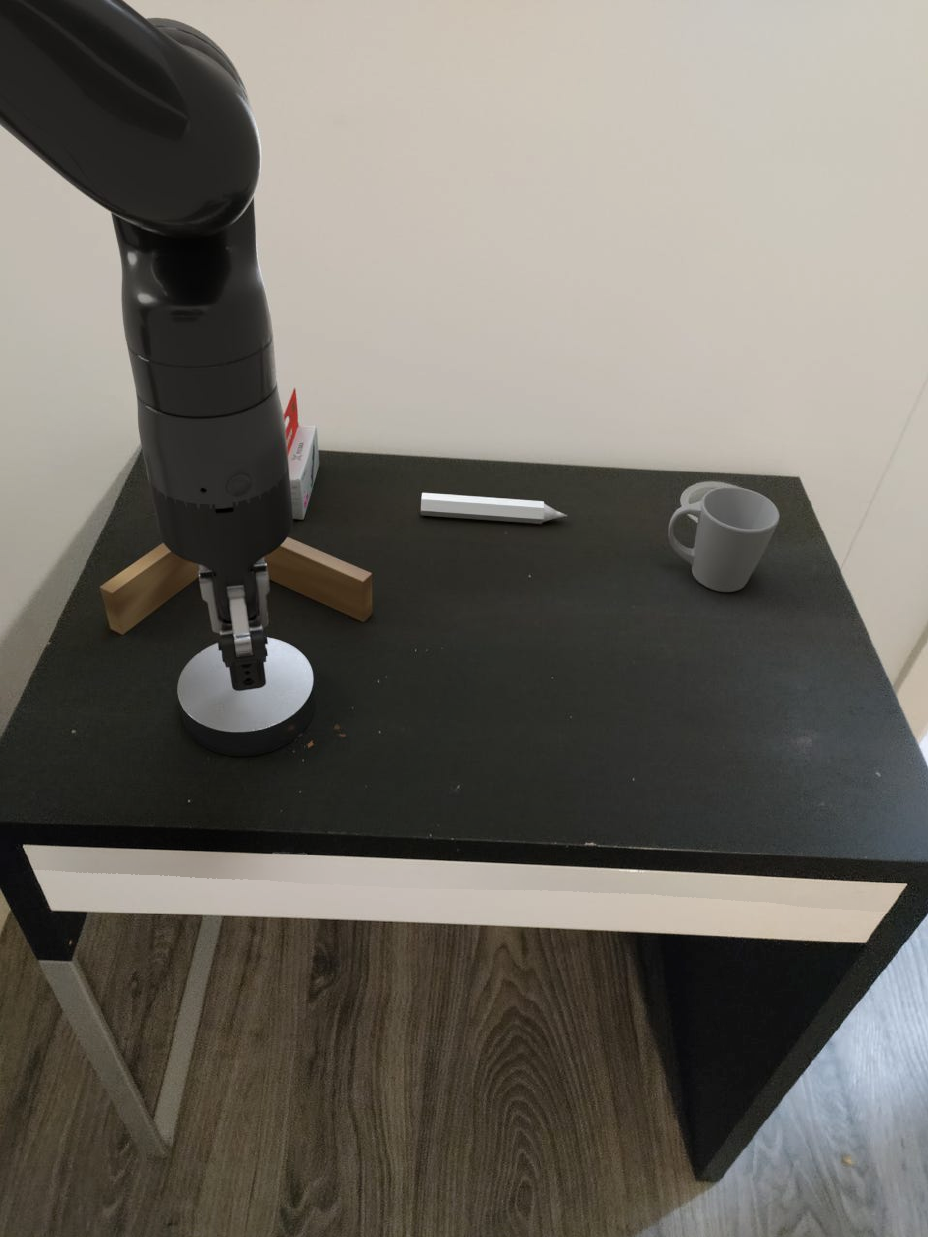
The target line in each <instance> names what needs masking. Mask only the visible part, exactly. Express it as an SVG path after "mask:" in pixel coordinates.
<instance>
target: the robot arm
mask: <svg viewBox="0 0 928 1237" xmlns="http://www.w3.org/2000/svg"><path fill="white" fill-rule="evenodd" d="M0 126H1V127H2V128H3V129H5V130H6V131H7V132H8V133H9V134H10V135H12V136H13V137H14V138H15V139H17V140H18V142H20V143H21V144H22V145H24V147H26V148H27V149H28V150H29V151H31V153H32V154H34V155H35V156H36V157H38V158H39V159H40V160H41V161H42V162H43V163H45V164H46V165H47V166H48V167H49V168H50V169H52V170H53V171H54V172H56V173H57V174H58V175H59V176H60V177H62V178H63V179H64V180H65V181H67V182H68V183H69V184H70V185H72V186H73V187H74V188H75V189H77V190H78V191H79V192H81V193H82V194H84V195H85V196H86V197H88V198H89V199H90V200H92V201H93V202H95V203H96V204H98V205H99V206H101V207H102V208H104V209H105V210H107V211H108V212H110V214H111V219H112V223H113V228H114V234H115V238H116V243H117V247H118V252H119V258H120V265H121V266H120V267H121V293H120V294H121V295H120V296H121V297H120V298H121V314H122V325H123V331H124V338H125V342H126V347H127V351H128V357H129V363H130V368H131V373H132V377H133V383H134V386H135V387H134V388H135V394H136V403H137V404H136V405H137V424H138V425H137V426H138V428H137V429H138V434H139V439H140V445H141V446H140V447H141V451H142V456H143V460H144V464H145V470H146V476H147V480H148V485H149V491H150V496H151V500H152V506H153V510H154V515H155V520H156V525H157V531H158V534H159V537H160V539H161V541H162V543H164V544H165V546H166V547H167V548H168V549H169V550H170V551H171V552H173V553H174V554H175V555H177V556H179V557H180V558H182V559H185V560H187V561H190V562H193V563H197V564H199V570H200V571H198V574H199V577H198V582H199V588H200V593H201V598H202V600H203V601H204V602H206V604H207V607H208V615H209V618H210V624H211V630H212V632H213V633H215V634H217V635H219V641H217V643H218V648H219V651H220V650H221V651H222V660H223V662H224V663H225V666H226V668H227V667H229V670H230V677H231V683H232V688H233V689H234V690H236V691H243V690H250V689H256V688H261V687H263V686H265V684H266V677H265V669H264V662H266V656H268V653H267V648H266V645H265V644H268V641H267V637H268V635H265V632H264V629H265V628H266V627H268V626H269V624H270V617H269V608H268V598H267V596H268V594H269V593H270V591H271V587H270V586H271V585H270V580H269V576H268V568H267V563H265V556H266V555H268V554H270V553H271V552H273V551H274V550H276V549H277V548H278V547H279V546H280V545H281V544H282V543H283V542H284V541H285V540H286V538H287V537H289V535H290V534H291V532H292V528H293V523H294V519H293V514H292V502H291V489H290V477H289V464H288V454H287V440H286V427H287V426H286V420H285V419H284V410H283V404H282V402H281V398H280V393H279V392H280V391H279V387H278V381H277V367H276V356H275V344H274V332H273V324H272V316H271V309H270V305H269V299H268V296H267V291H266V286H265V283H264V279H263V275H262V271H261V266H260V262H259V256H258V241H257V223H256V206H255V194H256V191H257V188H258V185H259V181H260V176H261V172H262V171H261V170H262V144H261V139H260V133H259V132H260V131H259V128H258V125H257V121H256V118H255V115H254V111H253V109H252V106H251V102H250V98H249V95H248V92H247V89H246V86H245V84H244V82H243V79H242V77H241V75H240V73H239V72H238V69H237V68H236V66H235V65H234V63H233V62H232V60H231V59H230V57H229V56H228V55H227V53H226V52H225V51H224V50H223V49H222V48H221V47H220V46H219V45H218V44H217V43H216V42H215V41H214V40H212V39H211V38H210V36H207V35H206V34H205V33H203V32H202V31H200V30H199V29H197V28H195V27H193V26H191V25H189V24H187V23H184V22H182V21H178V20H176V19H170V18H167V17H165V18H163V17H148V18H147V17H145V16H143V15H142V14H141V13H139V12H138V11H137V10H136V9H135V8H133V7H132V6H131V5H130V4H128V3H127V2H126V1H124V0H0Z"/></svg>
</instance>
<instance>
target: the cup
mask: <svg viewBox="0 0 928 1237" xmlns="http://www.w3.org/2000/svg"><path fill="white" fill-rule="evenodd" d="M687 515H691V516H692V517H693V516H694V517H695V518H697V523H696V529H695V530H696V531H695V537H694V547H692V548H690V547H687V546H684V545H683V544H682V543H680V542H679V540H678V539H677V538H676V536H675V534H674V526H675V524H676V523H677V521H678V520H679V519H680V518H681V517H683V516H687ZM779 522H780V512H779V509H778V508H777V506H776V504H774V503H773V501H771V500H770V499H769V498H768V497H767V496H765V495H762V493H759V492H757V491H754V490H751V489H749V488H743V487H739V486H720V487H716V488H713V489H711V490H708V491H707V492H706V493H705V494H704V495H703V496H702V498H701V500H699V501H696V502H694V503H689V504H685V505H682V506H680V507H678V508H677V509H676V510H675V511H674V512H673V514H672V516H671V518H670V520H669V524H668V540H669V544H670V546H671V548H672V550H673V551H674V553H675V554H676V555H678V556H679V557H680V558H681V559H682V560H684V562H685V561H686V562H688V563H689V564H690V565H691V571H692V575H693V577H694V579H695V580H696V581H697V582H698V583H699V584H701V585H702V586H704V587H706V588H707V589H709V590H711V591H716V592H721V593H732V592H733V593H734V592H736V591H740V590H742V589H743V588H745V586H746V585H747V583H748V582H749V580H750V578H751V577H752V575H753V573H754V571H755V570H756V567H757V566H758V563H759V562H760V560H761V558H762V556H763V555H764V553H765V550H766V549H767V547H768V545H769V542H770V541H771V539H772V536H773V535H774V532H775V531H776V529H777V526H778V524H779Z"/></svg>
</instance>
